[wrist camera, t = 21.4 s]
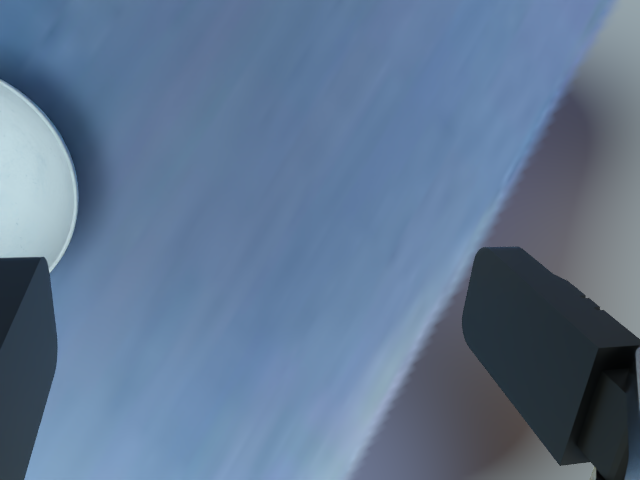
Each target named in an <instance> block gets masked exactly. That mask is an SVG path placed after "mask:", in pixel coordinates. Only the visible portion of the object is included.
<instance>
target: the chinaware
mask: <svg viewBox="0 0 640 480" xmlns="http://www.w3.org/2000/svg"><path fill="white" fill-rule="evenodd" d="M78 204H79V192H78V181H77V175H76V171H75V167H74V163H73V160H72V157H71V155H70V152H69V150H68V148H67V145H66V143H65V141H64V140H63V138H62V136H61V134H60V133H59V131H58V130H57V128H56V127H55V125H54V124H53V123H52V121H51V120H50V119H49V118H48V117H47V115H46V114H45V113H44V112H43V111H42V110H41V109H40V108H39V107H38V106H37V105H36V104H35V103H34V102H33V101H32V100H30V99H29V98H28V97H27V96H26V95H24V94H23V93H22V92H20V91H19V90H18V89H16V88H15V87H13V86H12V85H10V84H8V83H7V82H5V81H3V80H2V79H0V258H13V257H45V259H46V260H47V263H48V268H49V273H50V272H51V271H52V270H53V269H54V268H55V266H56V265H57V264H58V262H59V261H60V259H61V258H62V256H63V255H64V253H65V251H66V249H67V247H68V245H69V243H70V240H71V238H72V235H73V232H74V229H75V225H76V220H77V214H78Z"/></svg>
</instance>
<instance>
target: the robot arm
mask: <svg viewBox="0 0 640 480" xmlns="http://www.w3.org/2000/svg"><path fill="white" fill-rule="evenodd" d="M462 328H463V334H464V338H465V341H466V343H467V345H468V346H469V348H470V349H471V350H472V352H473V353H474V354H475V356H476V357H477V358H478V360H479V361H480V362H481V363H482V365H483V366H484V367H485V369H486V370H487V371H488V373H489V374H490V375H491V376H492V378H493V379H494V380H495V382H496V383H497V384H498V386H499V387H500V388H501V389H502V391H503V392H504V393H505V395H506V396H507V397H508V399H509V400H510V401H511V403H512V404H513V405H514V406H515V408H516V409H517V410H518V412H519V413H520V414H521V415H522V417H523V418H524V419H525V421H526V422H527V423H528V425H529V426H530V427H531V429H532V430H533V431H534V433H535V434H536V435H537V436H538V438H539V439H540V440H541V442H542V443H543V444H544V446H545V447H546V448H547V449H548V451H549V452H550V453H551V455H552V456H553V457H554V459H555V460H556V461H557V463H558V464H559V465H560V466H561V465H569V464H577V463H586V462H591V463H592V464H593V465H594V469H593V472H592V474H591V477H590V480H640V339H639V338H637V337H636V336H635V335H634V334H632V333H631V332H630V331H629V330H628V329H626V328H625V327H624V326H623V325H621V324H620V323H619V322H618V321H616V320H615V319H614V318H613V317H611V316H610V315H609V314H608V313H607V312H605V311H604V310H600V307H599V306H598V305H597V304H595V303H594V302H593V301H592V300H591V299H589V298H585V295H584V294H583V293H582V292H581V291H579V290H578V289H577V288H576V287H575V286H573V285H572V284H571V283H570V282H568V281H566V280H564V279H562V278H560V277H558V276H556V275H554V274H552V273H551V272H550V271H549V270H548V269H546V268H545V267H544V266H543V265H542V264H540V263H539V262H538V261H537V260H535V259H534V258H533V257H532V256H531V255H529V254H528V253H527V252H526V251H524V250H523V249H521V248H520V247H484V248H481V249H480V250H479V251H478V252H477V254H476V256H475V259H474V263H473V267H472V272H471V277H470V282H469V287H468V292H467V296H466V301H465V306H464V310H463V316H462ZM56 363H57V332H56V324H55V316H54V307H53V299H52V291H51V282H50V274H49V268H48V263H47V260H46V259H45V257H13V258H0V480H24V478H25V474H26V471H27V467H28V464H29V460H30V457H31V454H32V450H33V447H34V443H35V440H36V436H37V433H38V429H39V426H40V422H41V419H42V415H43V412H44V408H45V405H46V401H47V398H48V394H49V391H50V388H51V384H52V381H53V377H54V374H55V369H56Z"/></svg>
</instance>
